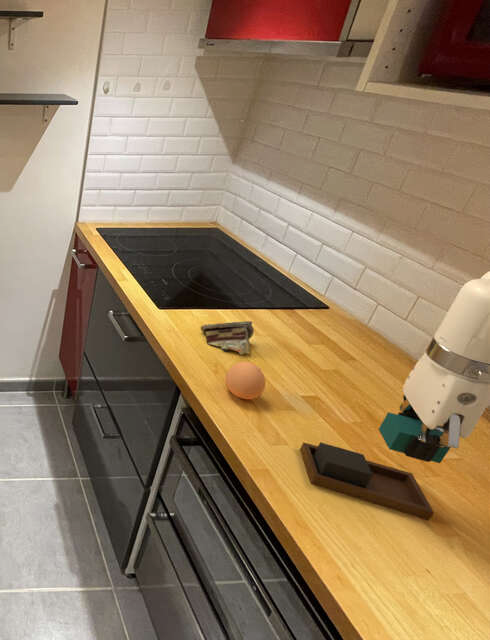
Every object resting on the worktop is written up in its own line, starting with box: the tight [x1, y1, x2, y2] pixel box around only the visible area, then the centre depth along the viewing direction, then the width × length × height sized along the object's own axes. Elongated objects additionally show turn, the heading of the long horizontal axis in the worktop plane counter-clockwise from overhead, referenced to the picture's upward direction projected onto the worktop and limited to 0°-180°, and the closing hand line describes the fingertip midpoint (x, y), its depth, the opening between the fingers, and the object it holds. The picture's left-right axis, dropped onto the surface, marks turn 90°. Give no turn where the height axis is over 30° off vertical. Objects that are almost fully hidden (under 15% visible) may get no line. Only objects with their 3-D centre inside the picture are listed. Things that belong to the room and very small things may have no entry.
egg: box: [224, 360, 266, 400], centre depth 98 cm, size 7×7×8 cm
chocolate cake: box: [200, 320, 255, 356], centre depth 115 cm, size 10×7×12 cm
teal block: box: [378, 412, 452, 464], centre depth 74 cm, size 6×5×4 cm
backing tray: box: [299, 442, 435, 521], centre depth 80 cm, size 16×8×2 cm, turn 66°
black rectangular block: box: [313, 442, 373, 488], centre depth 80 cm, size 6×5×4 cm
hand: (409, 444), depth 74 cm, fingers closed on teal block, 4 cm apart
